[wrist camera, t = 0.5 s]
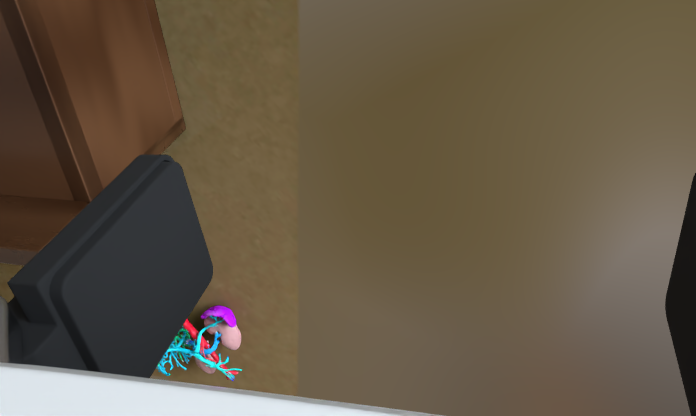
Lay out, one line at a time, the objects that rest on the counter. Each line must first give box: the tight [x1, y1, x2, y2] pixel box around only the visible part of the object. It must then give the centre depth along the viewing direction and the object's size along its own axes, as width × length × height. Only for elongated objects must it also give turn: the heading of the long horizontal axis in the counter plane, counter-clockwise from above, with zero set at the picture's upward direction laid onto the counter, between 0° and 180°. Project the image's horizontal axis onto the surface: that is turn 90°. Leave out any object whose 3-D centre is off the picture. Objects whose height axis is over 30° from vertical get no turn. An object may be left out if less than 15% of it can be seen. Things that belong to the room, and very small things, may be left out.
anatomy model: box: [156, 306, 242, 381], centre depth 48 cm, size 5×8×7 cm
